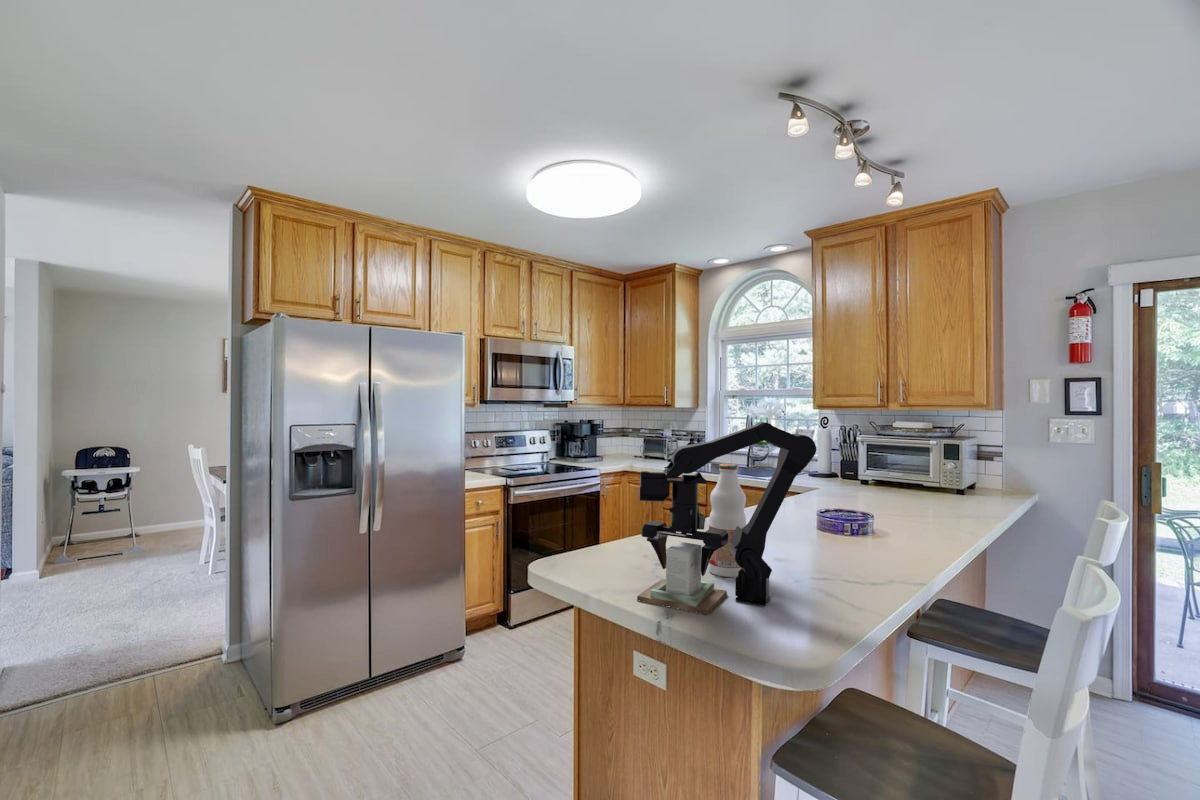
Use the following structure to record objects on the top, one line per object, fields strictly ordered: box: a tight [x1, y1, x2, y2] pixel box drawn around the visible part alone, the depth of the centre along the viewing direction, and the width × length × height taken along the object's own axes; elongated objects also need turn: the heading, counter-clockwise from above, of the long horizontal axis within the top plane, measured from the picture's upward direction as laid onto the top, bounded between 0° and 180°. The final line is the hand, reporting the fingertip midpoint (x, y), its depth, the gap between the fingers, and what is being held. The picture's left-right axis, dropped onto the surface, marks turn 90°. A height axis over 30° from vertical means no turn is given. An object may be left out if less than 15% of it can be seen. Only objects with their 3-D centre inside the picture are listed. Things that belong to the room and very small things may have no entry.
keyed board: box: [636, 578, 728, 616], centre depth 125 cm, size 16×14×2 cm
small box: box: [665, 541, 703, 597], centre depth 125 cm, size 8×6×10 cm
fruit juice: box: [707, 463, 747, 578], centre depth 144 cm, size 9×9×28 cm
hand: (683, 571), depth 125 cm, fingers open, 9 cm apart
